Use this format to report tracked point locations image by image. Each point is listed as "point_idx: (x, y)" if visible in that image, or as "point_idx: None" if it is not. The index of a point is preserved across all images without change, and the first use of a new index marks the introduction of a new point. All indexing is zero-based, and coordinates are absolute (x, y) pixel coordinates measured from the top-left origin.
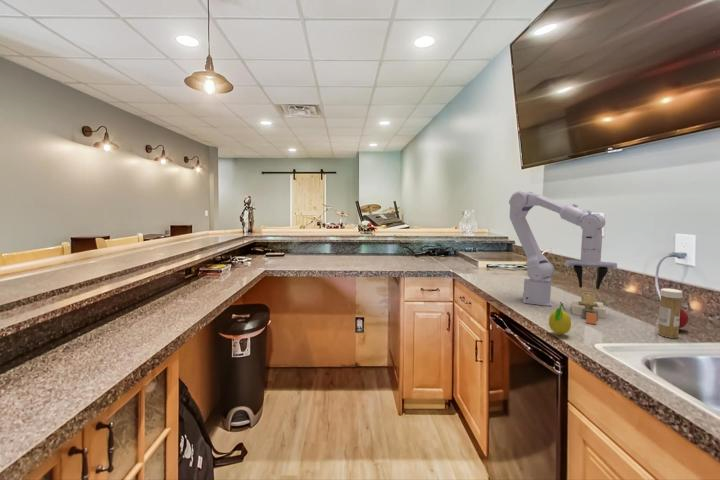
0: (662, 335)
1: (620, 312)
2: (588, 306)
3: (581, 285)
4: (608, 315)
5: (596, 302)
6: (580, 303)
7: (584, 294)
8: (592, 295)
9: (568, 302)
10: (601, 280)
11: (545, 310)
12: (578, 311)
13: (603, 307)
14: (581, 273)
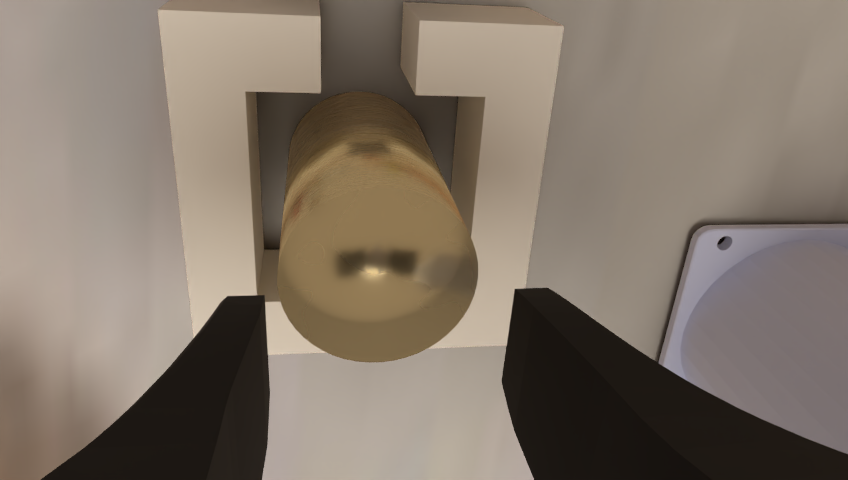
0: None
1: (26, 337)
2: (367, 122)
3: (539, 303)
4: (143, 156)
5: None
6: None
7: (447, 207)
8: (331, 193)
9: (490, 449)
10: (143, 402)
11: (794, 39)
12: (482, 10)
13: (184, 128)
14: (712, 459)
